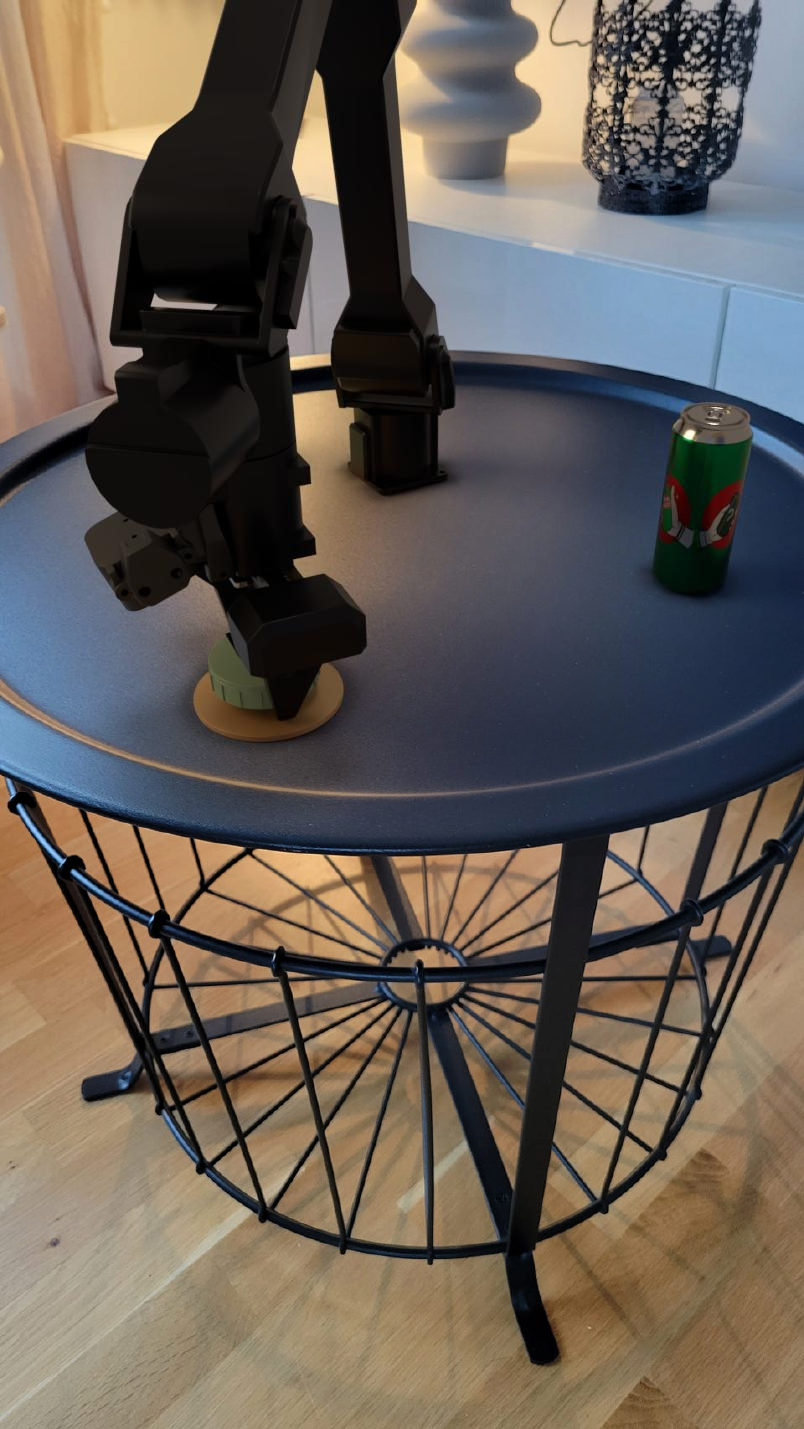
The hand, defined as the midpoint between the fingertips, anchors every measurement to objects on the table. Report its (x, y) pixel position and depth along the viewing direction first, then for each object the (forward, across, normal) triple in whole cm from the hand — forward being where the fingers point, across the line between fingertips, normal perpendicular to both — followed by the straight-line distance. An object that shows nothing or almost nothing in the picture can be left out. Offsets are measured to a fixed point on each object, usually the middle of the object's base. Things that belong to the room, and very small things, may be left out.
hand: (268, 687), depth 63 cm
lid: (-2, 0, 0) cm, 2 cm away
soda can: (+1, -1, +31) cm, 31 cm away
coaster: (+1, 0, 0) cm, 1 cm away
